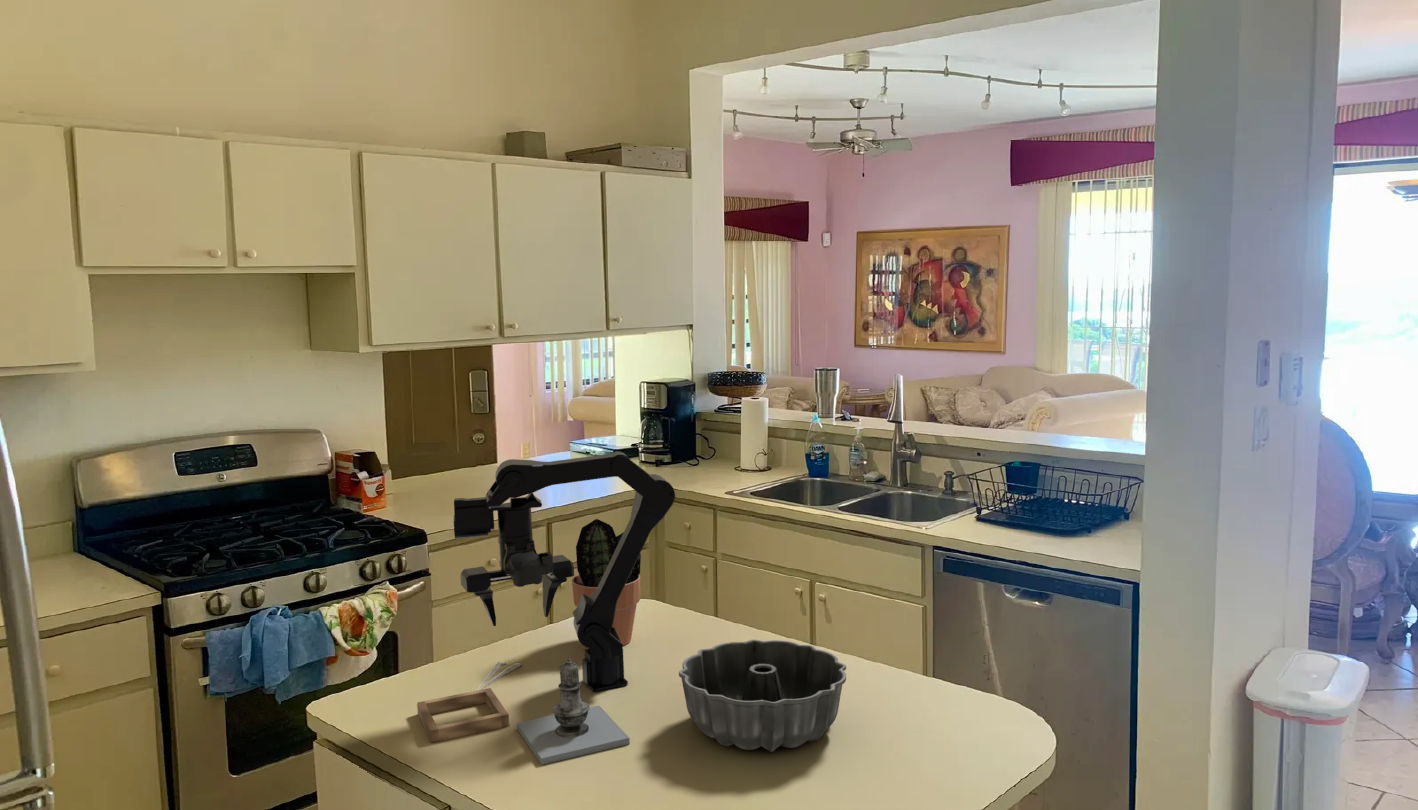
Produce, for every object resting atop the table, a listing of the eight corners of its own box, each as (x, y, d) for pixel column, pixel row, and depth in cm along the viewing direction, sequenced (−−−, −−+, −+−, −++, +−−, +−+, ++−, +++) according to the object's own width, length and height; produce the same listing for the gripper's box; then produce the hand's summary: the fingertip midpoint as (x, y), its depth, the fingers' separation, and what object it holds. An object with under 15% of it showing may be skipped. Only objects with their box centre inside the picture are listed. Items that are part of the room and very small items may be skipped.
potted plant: (614, 658, 190) (608, 530, 188) (560, 646, 198) (554, 522, 195) (656, 636, 202) (651, 515, 199) (603, 626, 209) (598, 509, 206)
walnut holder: (491, 698, 173) (490, 687, 173) (509, 725, 162) (508, 714, 162) (417, 713, 168) (417, 702, 167) (431, 742, 156) (430, 730, 156)
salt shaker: (583, 739, 154) (580, 664, 152) (547, 737, 155) (543, 662, 154) (595, 723, 159) (592, 650, 158) (561, 721, 161) (557, 649, 159)
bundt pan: (861, 703, 167) (861, 645, 165) (828, 777, 142) (827, 709, 141) (712, 687, 175) (710, 632, 174) (656, 754, 150) (654, 691, 149)
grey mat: (599, 710, 166) (599, 705, 166) (629, 743, 154) (629, 737, 154) (516, 729, 160) (516, 723, 160) (541, 764, 148) (541, 758, 148)
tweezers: (500, 665, 190) (499, 656, 190) (523, 668, 189) (522, 658, 188) (453, 708, 173) (453, 698, 173) (478, 711, 172) (477, 701, 172)
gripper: (471, 551, 161) (477, 644, 162) (582, 535, 169) (586, 625, 170) (457, 537, 171) (462, 625, 172) (562, 523, 179) (566, 607, 180)
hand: (520, 621), depth 174 cm, fingers open, 9 cm apart
